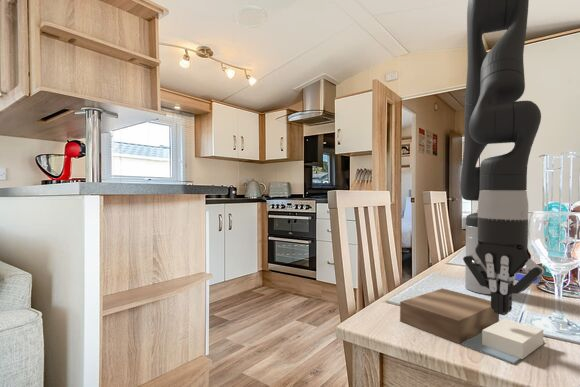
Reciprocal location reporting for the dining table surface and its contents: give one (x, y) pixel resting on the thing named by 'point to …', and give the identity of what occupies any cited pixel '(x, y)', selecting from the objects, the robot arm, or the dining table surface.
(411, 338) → the dining table surface
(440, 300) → the brown wooden block
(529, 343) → the cream foam brick
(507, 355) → the mat
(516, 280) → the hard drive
